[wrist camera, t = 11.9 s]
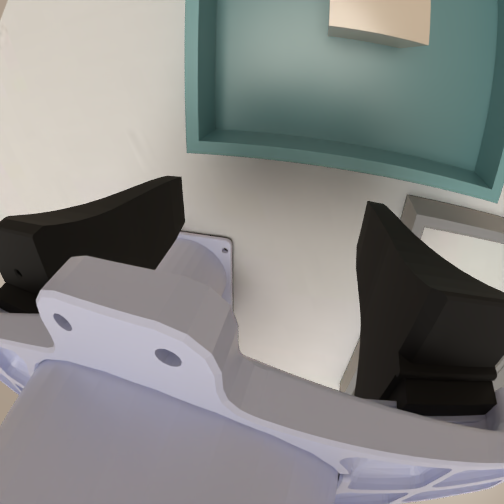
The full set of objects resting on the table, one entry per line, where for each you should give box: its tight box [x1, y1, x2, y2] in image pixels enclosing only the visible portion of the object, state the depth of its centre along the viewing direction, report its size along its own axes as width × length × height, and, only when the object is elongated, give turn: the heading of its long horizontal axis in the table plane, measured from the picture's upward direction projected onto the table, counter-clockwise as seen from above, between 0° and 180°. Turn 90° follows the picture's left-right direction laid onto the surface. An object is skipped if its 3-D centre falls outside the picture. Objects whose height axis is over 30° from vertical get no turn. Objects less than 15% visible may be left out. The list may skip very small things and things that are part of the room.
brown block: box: [328, 0, 431, 48], centre depth 11 cm, size 4×4×6 cm
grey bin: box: [339, 195, 504, 396], centre depth 25 cm, size 24×17×3 cm
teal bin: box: [185, 0, 504, 203], centre depth 13 cm, size 20×20×4 cm
